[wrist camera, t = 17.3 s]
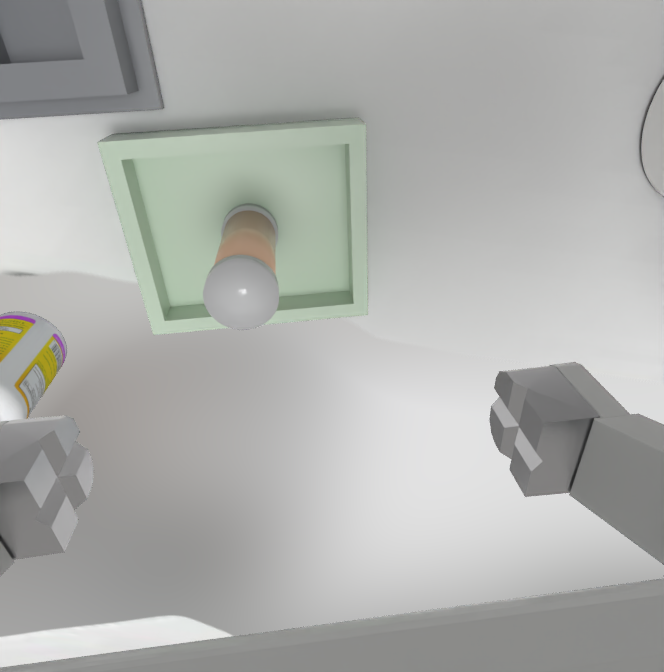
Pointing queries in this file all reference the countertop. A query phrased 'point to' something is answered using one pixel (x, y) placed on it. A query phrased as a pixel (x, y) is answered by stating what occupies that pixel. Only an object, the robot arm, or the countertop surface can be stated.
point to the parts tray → (235, 189)
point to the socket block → (75, 58)
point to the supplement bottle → (27, 362)
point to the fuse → (244, 270)
